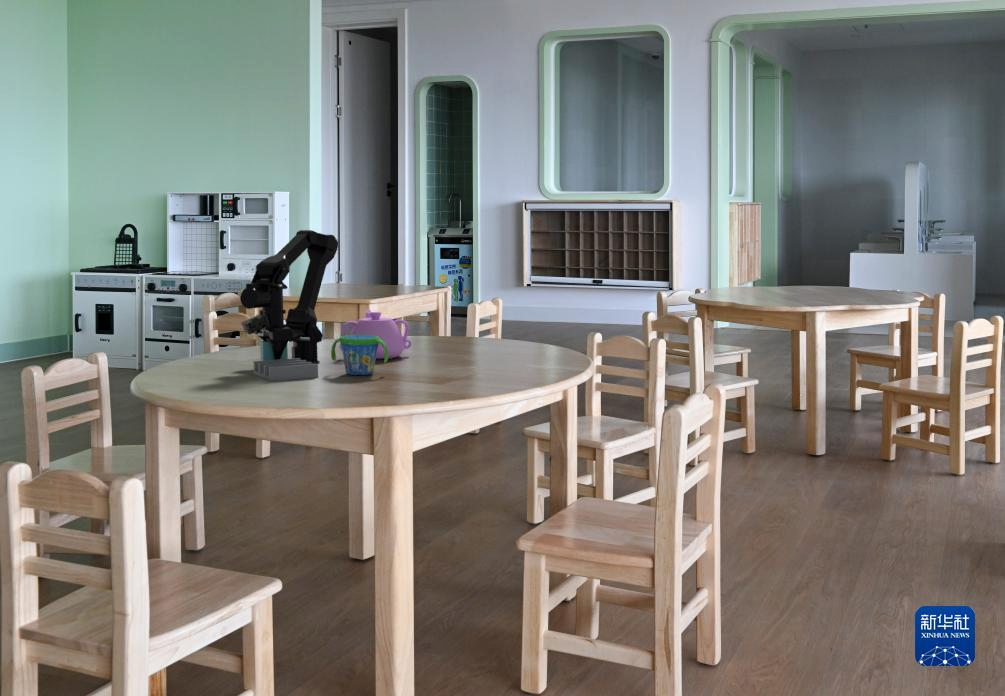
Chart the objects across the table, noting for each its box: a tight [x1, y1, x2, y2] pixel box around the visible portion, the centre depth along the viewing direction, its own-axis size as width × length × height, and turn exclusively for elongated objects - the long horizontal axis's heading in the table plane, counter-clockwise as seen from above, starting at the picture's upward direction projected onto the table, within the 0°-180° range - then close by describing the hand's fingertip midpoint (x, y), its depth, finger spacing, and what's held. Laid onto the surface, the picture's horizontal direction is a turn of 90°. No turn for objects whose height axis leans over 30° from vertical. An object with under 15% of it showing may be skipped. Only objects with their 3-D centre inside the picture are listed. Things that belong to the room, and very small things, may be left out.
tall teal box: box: [259, 340, 289, 361], centre depth 304 cm, size 7×2×8 cm, turn 120°
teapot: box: [339, 309, 413, 360], centre depth 330 cm, size 22×22×14 cm
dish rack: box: [252, 358, 319, 382], centre depth 291 cm, size 13×15×4 cm
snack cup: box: [330, 334, 389, 376], centre depth 294 cm, size 16×10×10 cm
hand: (274, 361), depth 304 cm, fingers open, 4 cm apart
